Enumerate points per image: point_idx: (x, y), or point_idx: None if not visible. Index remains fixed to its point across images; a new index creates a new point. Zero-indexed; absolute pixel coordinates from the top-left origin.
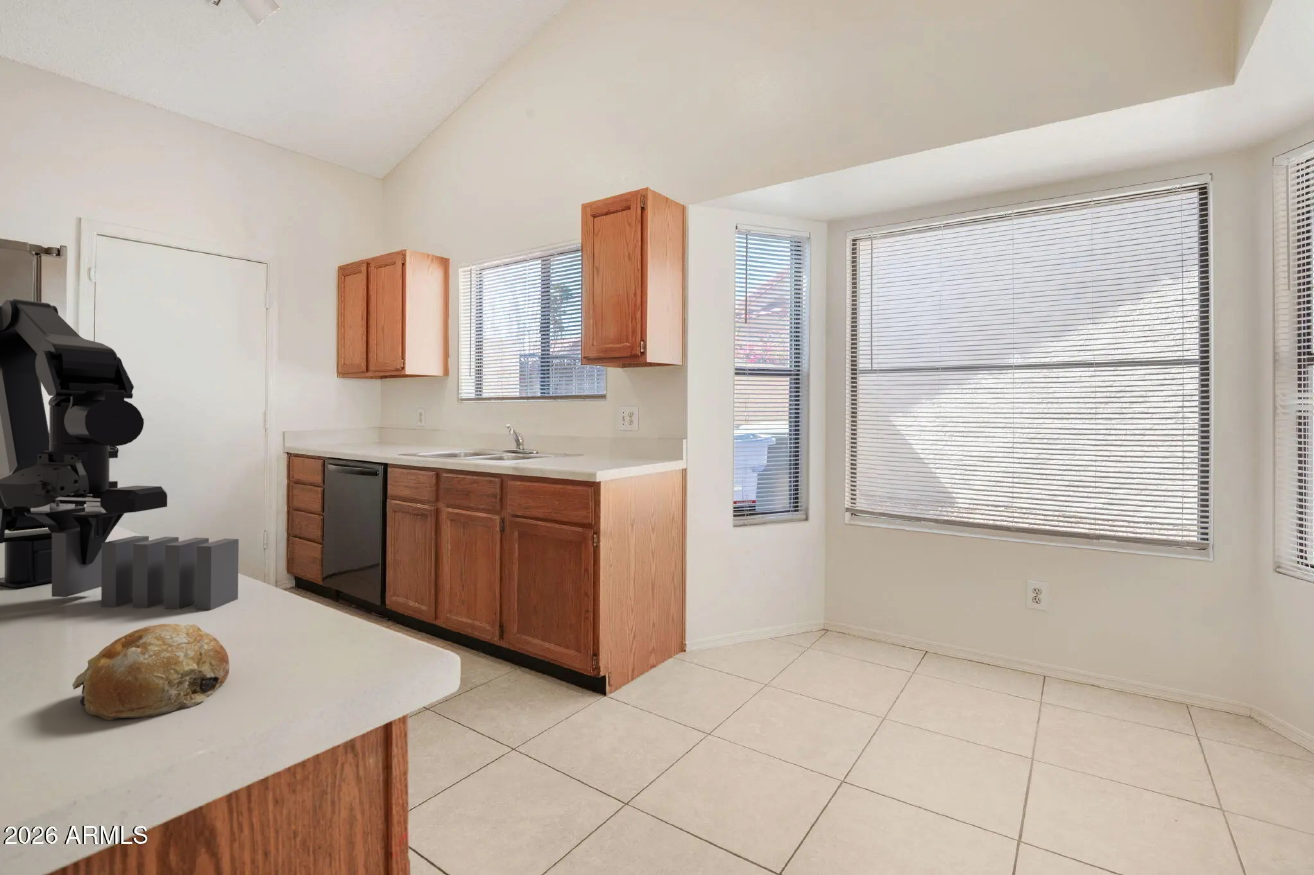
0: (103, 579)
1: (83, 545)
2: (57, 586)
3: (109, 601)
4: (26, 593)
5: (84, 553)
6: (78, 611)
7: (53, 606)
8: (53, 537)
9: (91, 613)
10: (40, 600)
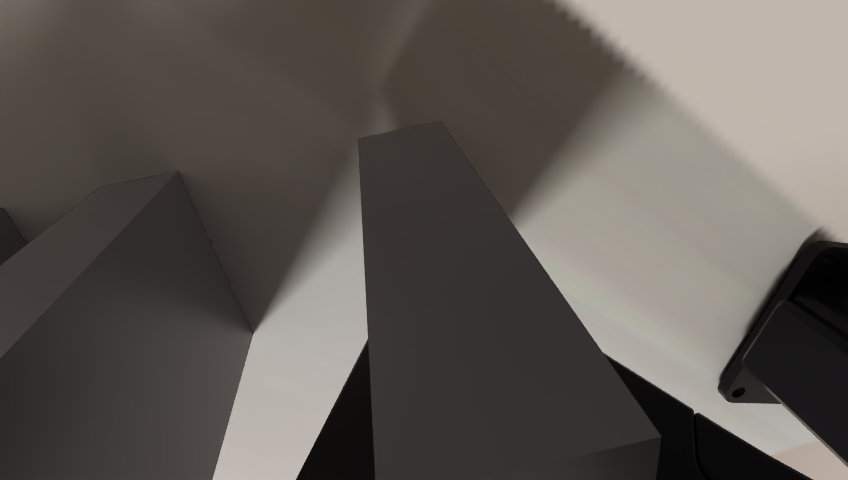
0: (99, 246)
1: (350, 446)
2: (412, 144)
3: (119, 191)
4: (726, 214)
5: (363, 388)
6: (184, 73)
7: (412, 103)
8: (589, 378)
9: (67, 64)
10: (572, 159)
